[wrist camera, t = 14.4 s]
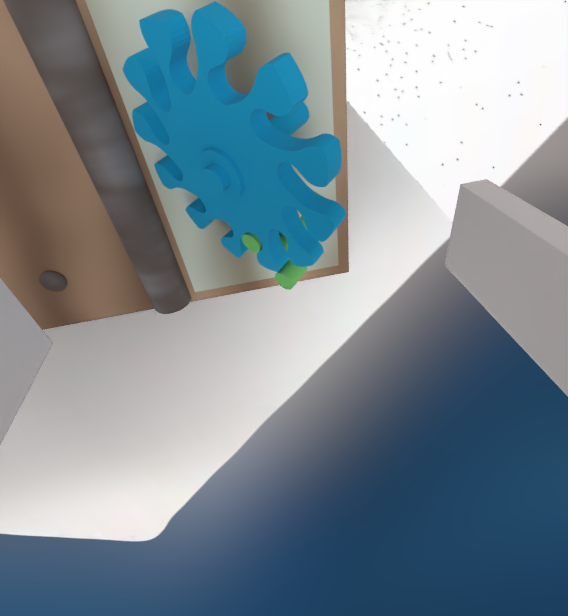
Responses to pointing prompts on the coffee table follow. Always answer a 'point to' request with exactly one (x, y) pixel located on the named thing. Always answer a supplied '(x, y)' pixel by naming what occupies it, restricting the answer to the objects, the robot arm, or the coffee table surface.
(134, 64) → the gear
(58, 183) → the hinge board
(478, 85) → the coffee table surface
